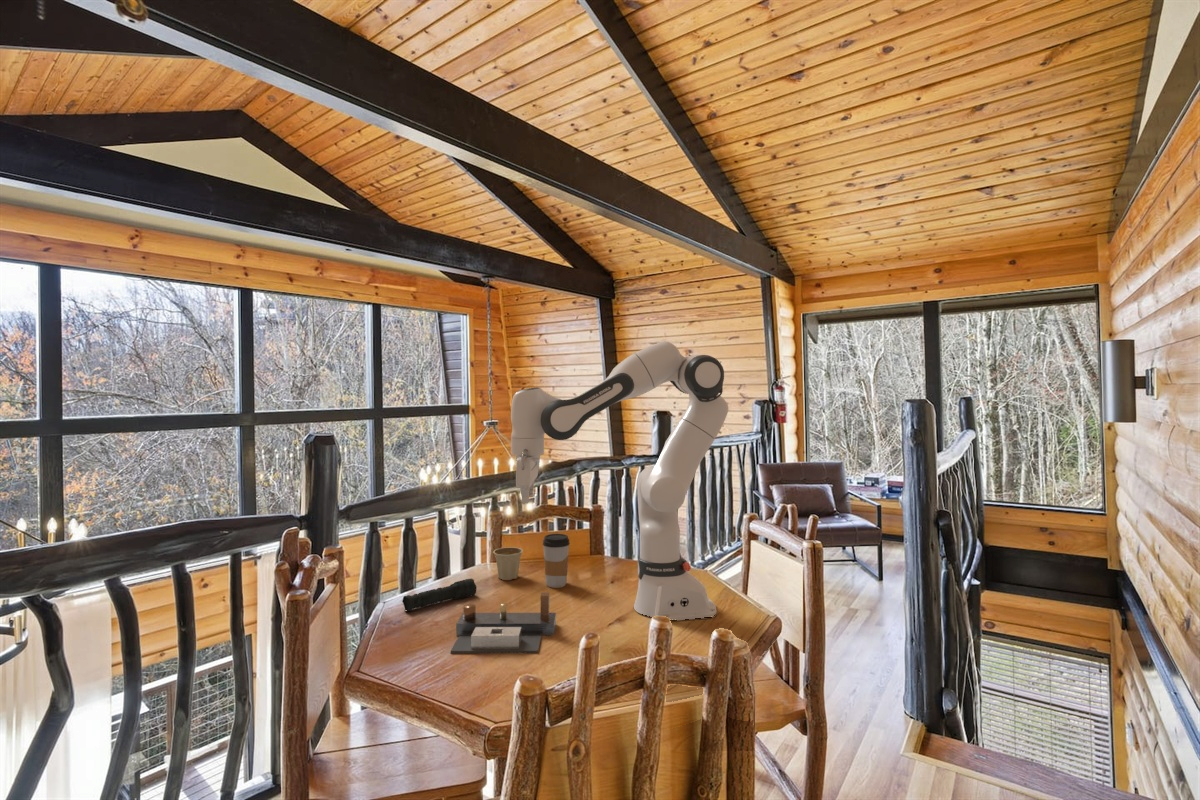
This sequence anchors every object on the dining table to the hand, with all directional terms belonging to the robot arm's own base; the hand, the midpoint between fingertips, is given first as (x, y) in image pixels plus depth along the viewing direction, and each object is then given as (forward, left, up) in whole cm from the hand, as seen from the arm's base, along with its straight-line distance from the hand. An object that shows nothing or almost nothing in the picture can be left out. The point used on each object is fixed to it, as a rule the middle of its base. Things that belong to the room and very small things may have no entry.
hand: (527, 499), depth 155 cm
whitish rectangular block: (+5, +19, -30) cm, 36 cm away
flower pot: (+10, -31, -31) cm, 45 cm away
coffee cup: (-6, -24, -31) cm, 40 cm away
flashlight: (+26, -9, -32) cm, 42 cm away
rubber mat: (+5, +19, -31) cm, 37 cm away
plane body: (+4, +10, -31) cm, 33 cm away
